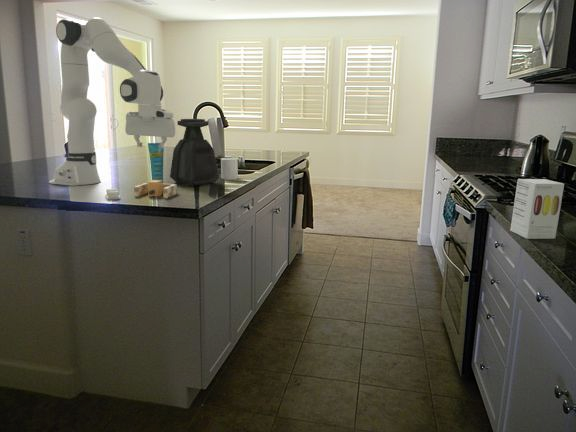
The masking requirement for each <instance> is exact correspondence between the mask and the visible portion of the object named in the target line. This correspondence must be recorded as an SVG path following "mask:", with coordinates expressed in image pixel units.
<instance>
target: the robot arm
mask: <svg viewBox="0 0 576 432" xmlns="http://www.w3.org/2000/svg"><path fill="white" fill-rule="evenodd" d="M55 33H56V38H57V39H58V41H59V42H60V43H61V46H60V47H61V48H60V67H61V68H60V70H61V83H62V85H61V103H60V107H59V108H60V113H61V114H62V115H63V117H64V118H65V119H67V120H68V129H67V130H68V131H67V135H66V138H67V146H68V147H67V148H68V152H67V153H64V155H63V158H65V161H64V162H63V163H61V164H60V165H59V166H58V167H56V168H55V170H54V172H53V179H51V180H49V181H48V184H53V185H62V186H71V187H72V186H75V187H76V186H83V185H95V184H99V183H101V178H100V175H99V172H98V168H97V153H96V151H95V139H94V138H95V137H94V130H95V124H96V123H95V120H96V116H97V111H98V110H97V107H96V105H95V103H94V102H93V101H91V100H90V99H89V98H88V90H89V86H90V76H89V75H90V71H89V60H88V53H89V52H90V50H91V51H92V52H94V53H95V54H96V56H97V57H98V58H99V59H100V60H102V61H103V63H106V64H110V65H111V66H116V67H118V68H120V69H123V70H125V71H127V72H128V73H129V74H130V75H131V76H132V77H131V76H130V77H129V78H126V79H124V80H123V81H122V82H121V83H120V85H119V94H120V97H121V99H122V100H123V101H124V102H125V103H129V104H137V106H138V107H137V111H129V112H127V113H126V114H125V129H124V130H125V131H124V132H125V134H126V135H127V136H133V138H134V140H135V142H136V147H138V148H143V142H142V141H141V140H140V138H141V136H142V137H156V138H157V137H158V138H159V137H160V140H161V142H160V143H161V144H159V148H164V149H165V143H166V142H167V140H168V139H167V138H174V137H175V135H176V125H175V124H176V123H175V121H174V119H173V118H174V113H173V112H171V111H169V110H165V109H164V108H162V103H161V102H162V100H163V98H164V89H163V86H162V83H161V77H160V74H159V73H158V72H156V71H153V70H149V69H146V67H145V66H144V65H143V64H142V63H141V61H140V60H139V59H138V57H136V55H134V54H133V53H132V52H131V51H130V50H129V49H128V48H127V47H126V45H124V44H123V43H122V41H121V40H120V38H119V37H118V36H117V34H116V33H115V31H114V30H113V28H112V27H111V26H110V25H109V24H108V22H106V21H105V20H104V19H103V18H102V17H92V18H89V19H88V20H81V19H79V20H78V19H72V18H62V19H61V20H59V21H58V23H57V25H56V28H55Z"/></svg>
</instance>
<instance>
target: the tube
mask: <svg viewBox="0 0 576 432" xmlns="http://www.w3.org/2000/svg"><path fill="white" fill-rule="evenodd" d="M159 144H161V142H148V143H147V147H148V153H149V161H150V162H149V163H150V172H151V181H152V180H162V183H164V151H165V147H164V148H159Z"/></svg>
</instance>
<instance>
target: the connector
mask: <svg viewBox="0 0 576 432" xmlns="http://www.w3.org/2000/svg"><path fill="white" fill-rule="evenodd" d="M147 183H148V193H147V194H148V195H147V196H148V197H152V196H158V197H160V196H162V194H163V190H162V180H152V179H151V180H149V181H147Z"/></svg>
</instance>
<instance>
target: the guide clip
mask: <svg viewBox="0 0 576 432" xmlns="http://www.w3.org/2000/svg"><path fill="white" fill-rule="evenodd" d="M105 192H106V194H105V199H106V200H107V201H110V200H111V201H112V200H115V201H116V200H121V196H120V192H119V191H118V188H108V189H107V188H106V191H105Z"/></svg>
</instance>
